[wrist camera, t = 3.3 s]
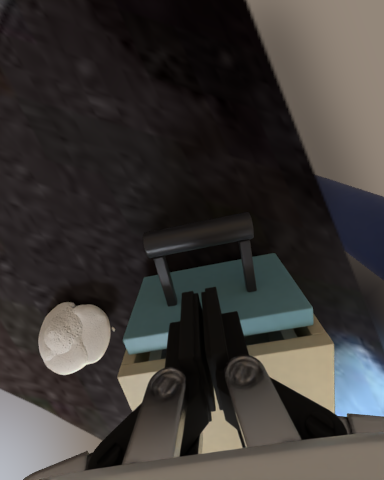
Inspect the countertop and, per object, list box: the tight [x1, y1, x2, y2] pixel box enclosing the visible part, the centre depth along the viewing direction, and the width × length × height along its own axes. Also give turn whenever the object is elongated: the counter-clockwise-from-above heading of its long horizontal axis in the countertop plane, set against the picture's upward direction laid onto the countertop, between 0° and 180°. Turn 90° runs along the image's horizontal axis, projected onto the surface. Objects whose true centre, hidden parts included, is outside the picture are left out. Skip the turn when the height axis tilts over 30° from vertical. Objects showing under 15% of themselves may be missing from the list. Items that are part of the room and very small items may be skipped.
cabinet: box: [117, 314, 335, 454], centre depth 20 cm, size 14×12×9 cm
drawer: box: [123, 212, 314, 361], centre depth 18 cm, size 18×10×7 cm, turn 12°
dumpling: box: [38, 302, 115, 375], centre depth 22 cm, size 7×5×4 cm
